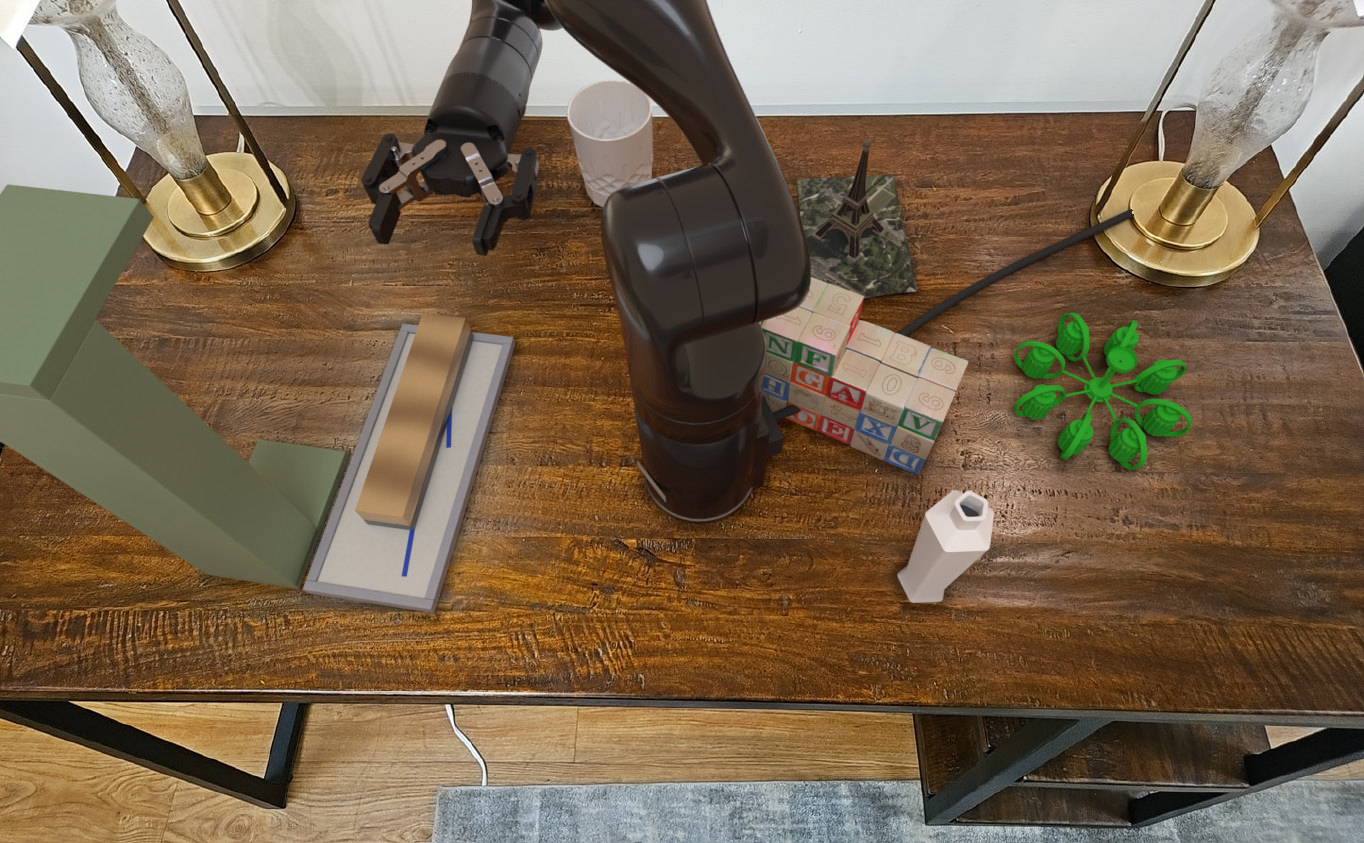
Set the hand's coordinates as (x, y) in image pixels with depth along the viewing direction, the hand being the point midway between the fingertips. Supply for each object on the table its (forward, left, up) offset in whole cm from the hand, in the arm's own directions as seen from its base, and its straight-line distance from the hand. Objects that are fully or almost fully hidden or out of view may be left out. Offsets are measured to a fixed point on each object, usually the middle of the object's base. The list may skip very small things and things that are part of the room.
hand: (429, 243), depth 73 cm
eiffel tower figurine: (-38, +4, -12) cm, 40 cm away
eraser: (+6, +10, -11) cm, 15 cm away
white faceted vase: (-28, +37, -12) cm, 48 cm away
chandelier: (-49, +28, -12) cm, 58 cm away
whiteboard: (+7, +12, -12) cm, 18 cm away
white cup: (-19, -11, -12) cm, 25 cm away
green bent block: (+19, +13, -12) cm, 26 cm away
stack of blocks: (-27, +19, -12) cm, 35 cm away
